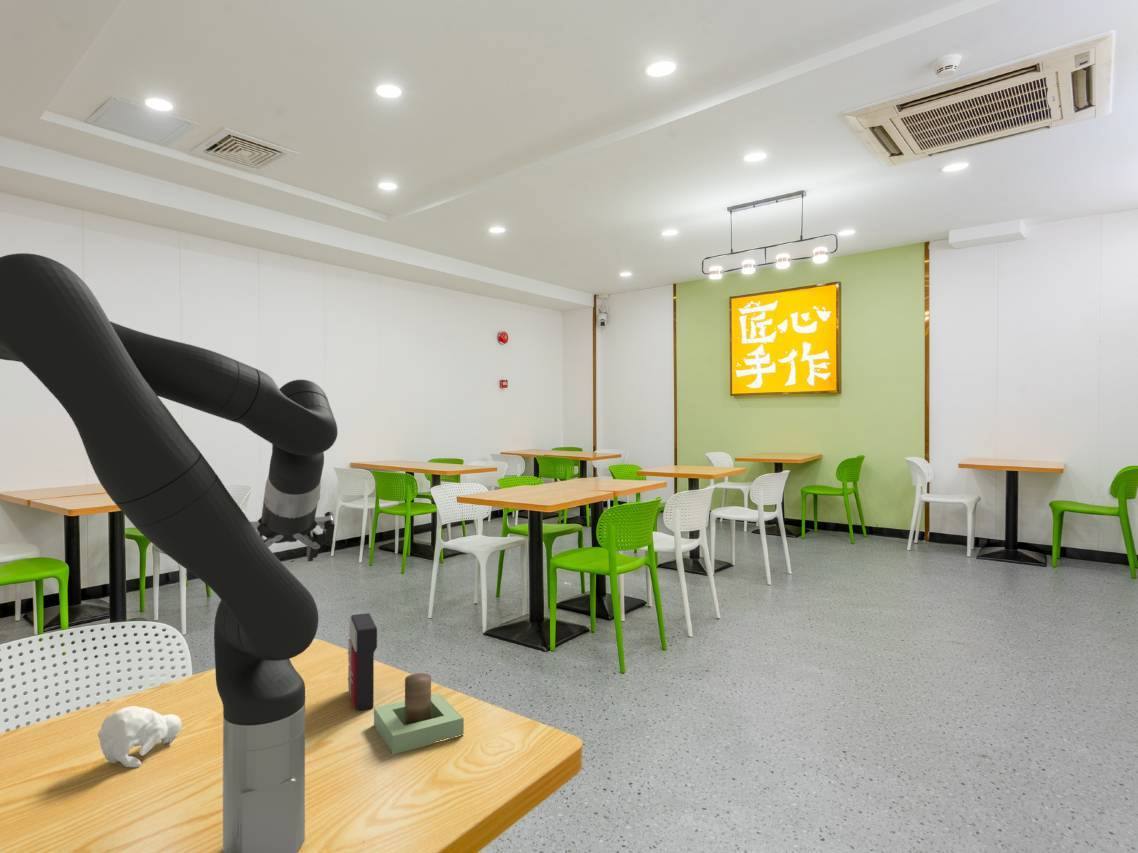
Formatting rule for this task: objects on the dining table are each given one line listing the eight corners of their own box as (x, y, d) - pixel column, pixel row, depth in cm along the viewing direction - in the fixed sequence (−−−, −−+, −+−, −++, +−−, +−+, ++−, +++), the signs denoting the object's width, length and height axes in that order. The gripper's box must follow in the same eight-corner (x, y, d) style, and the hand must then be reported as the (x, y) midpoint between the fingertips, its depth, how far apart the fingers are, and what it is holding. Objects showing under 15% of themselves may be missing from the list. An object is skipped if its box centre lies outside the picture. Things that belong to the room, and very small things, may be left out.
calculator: (346, 689, 126) (347, 615, 126) (369, 686, 128) (369, 612, 128) (352, 712, 116) (353, 630, 116) (376, 707, 118) (377, 627, 118)
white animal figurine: (95, 711, 97) (168, 688, 108) (89, 769, 96) (163, 740, 107) (123, 717, 95) (195, 694, 106) (117, 777, 94) (190, 746, 105)
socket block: (463, 735, 107) (463, 717, 107) (393, 754, 101) (393, 735, 101) (439, 708, 117) (439, 692, 117) (374, 724, 111) (374, 707, 111)
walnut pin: (434, 732, 108) (434, 679, 108) (409, 738, 106) (409, 685, 106) (426, 722, 112) (426, 671, 112) (401, 728, 110) (401, 676, 110)
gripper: (338, 475, 100) (324, 537, 110) (236, 479, 92) (231, 545, 102) (345, 513, 95) (330, 573, 105) (239, 520, 88) (233, 584, 98)
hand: (281, 559), depth 104 cm, fingers open, 8 cm apart
